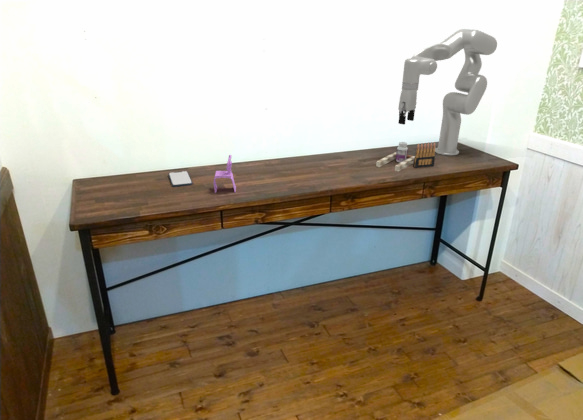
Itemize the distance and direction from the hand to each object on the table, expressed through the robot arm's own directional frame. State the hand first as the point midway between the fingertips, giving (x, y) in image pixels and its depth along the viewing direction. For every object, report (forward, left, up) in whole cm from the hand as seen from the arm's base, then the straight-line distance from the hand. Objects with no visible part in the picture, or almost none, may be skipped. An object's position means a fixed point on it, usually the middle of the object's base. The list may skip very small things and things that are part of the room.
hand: (406, 122), depth 222 cm
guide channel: (+6, 0, -20) cm, 21 cm away
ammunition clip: (+1, +12, -20) cm, 23 cm away
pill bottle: (0, 0, -20) cm, 20 cm away
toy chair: (+85, -40, -20) cm, 96 cm away
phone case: (+89, -64, -21) cm, 111 cm away
